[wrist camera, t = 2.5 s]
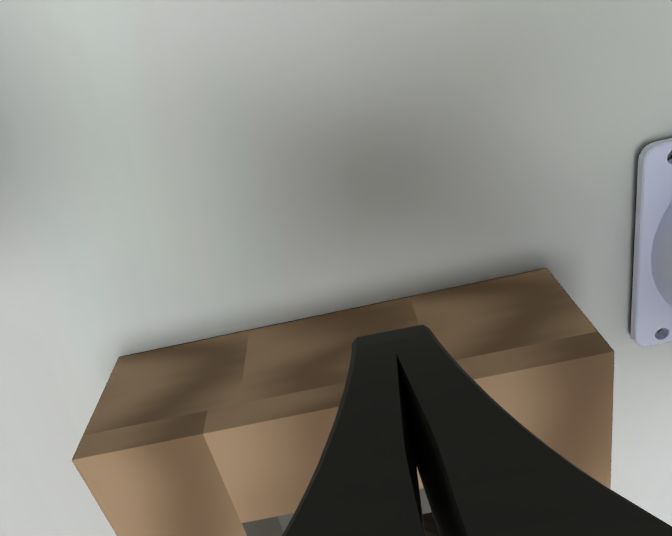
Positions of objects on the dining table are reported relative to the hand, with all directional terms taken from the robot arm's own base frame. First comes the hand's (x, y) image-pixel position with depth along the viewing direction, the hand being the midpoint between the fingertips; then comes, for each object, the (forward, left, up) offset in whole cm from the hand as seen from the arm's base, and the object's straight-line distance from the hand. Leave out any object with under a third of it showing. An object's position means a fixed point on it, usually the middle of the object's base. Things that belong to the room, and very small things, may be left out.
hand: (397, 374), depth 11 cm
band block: (+2, +12, -9) cm, 16 cm away
